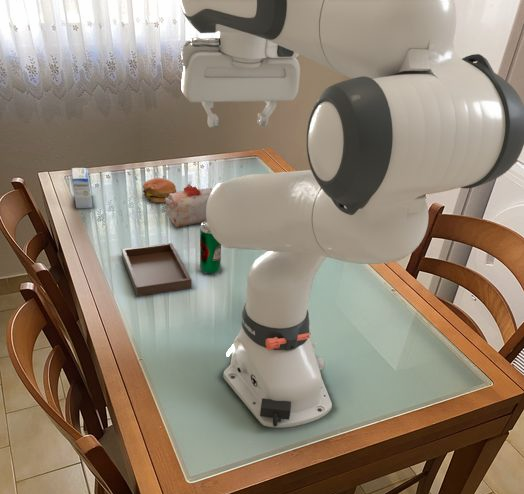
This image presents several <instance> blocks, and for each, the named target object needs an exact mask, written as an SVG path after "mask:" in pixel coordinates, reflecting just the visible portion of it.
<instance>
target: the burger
mask: <svg viewBox="0 0 524 494" xmlns="http://www.w3.org/2000/svg"><path fill="white" fill-rule="evenodd" d="M142 189H143V190H142V192H143V196H144V197H145V199H147V200H150V202H151V203H156V204H166V202H165V199H166V197H167V198H168V197H169V194H171V193H175V192H177V186H176V185H175V183H174V182H172V181H171V180H169V179H167V178H163V177H155V178H151V179H148V180H146V181H145V182H144V183H143V184H142Z"/></svg>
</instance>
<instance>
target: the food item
mask: <svg viewBox="0 0 524 494" xmlns="http://www.w3.org/2000/svg"><path fill="white" fill-rule="evenodd" d="M212 190H213V188H212V187H206V188H197V187H196V186H192V185H191V183H188V184H187V185H186V186H185V187H183V190H180V191H176V192H175V193H171V194H169V197H168V198H167V197H166V199H165V213H166V215H167V217H168V219H169V220H170V222H171V223H172V224H173V225H174V226H175V227H176V228H180V227H181V228H182V227H185V226H190V225H197V224H202V223H203V222H205V221H207V219H206V206H207V201H208V198H209V196H210V193H211V192H212Z"/></svg>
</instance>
